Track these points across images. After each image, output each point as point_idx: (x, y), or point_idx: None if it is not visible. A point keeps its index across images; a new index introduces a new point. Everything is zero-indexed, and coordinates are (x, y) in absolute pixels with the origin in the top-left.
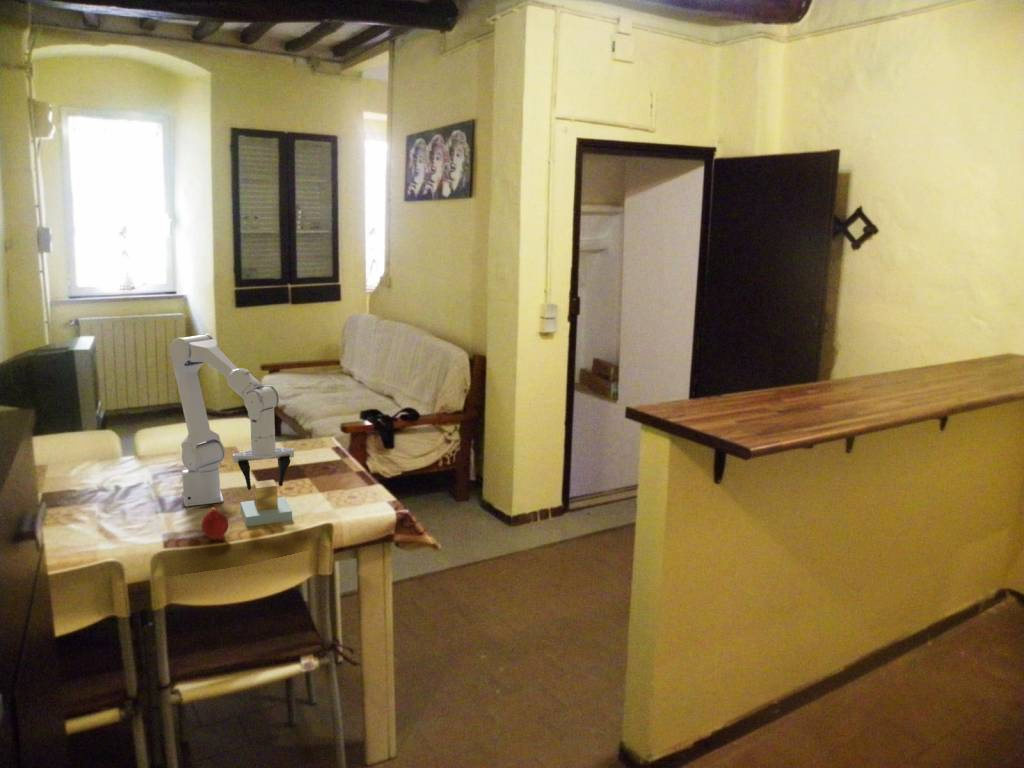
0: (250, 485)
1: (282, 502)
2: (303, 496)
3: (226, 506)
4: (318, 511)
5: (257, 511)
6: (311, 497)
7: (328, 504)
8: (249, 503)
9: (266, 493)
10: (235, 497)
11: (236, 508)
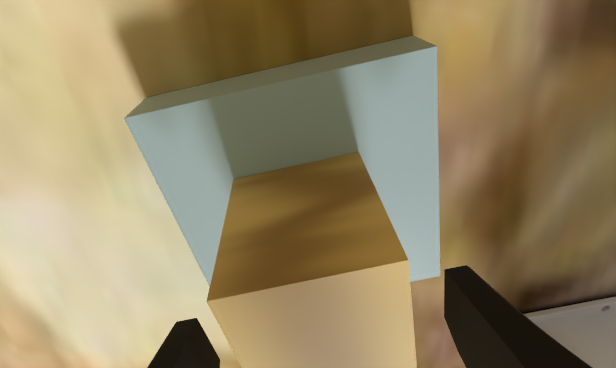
0: (468, 295)
1: None
2: None
3: None
4: (29, 203)
5: (357, 143)
6: (128, 343)
7: (12, 277)
8: None
9: (306, 234)
10: (429, 354)
11: None
